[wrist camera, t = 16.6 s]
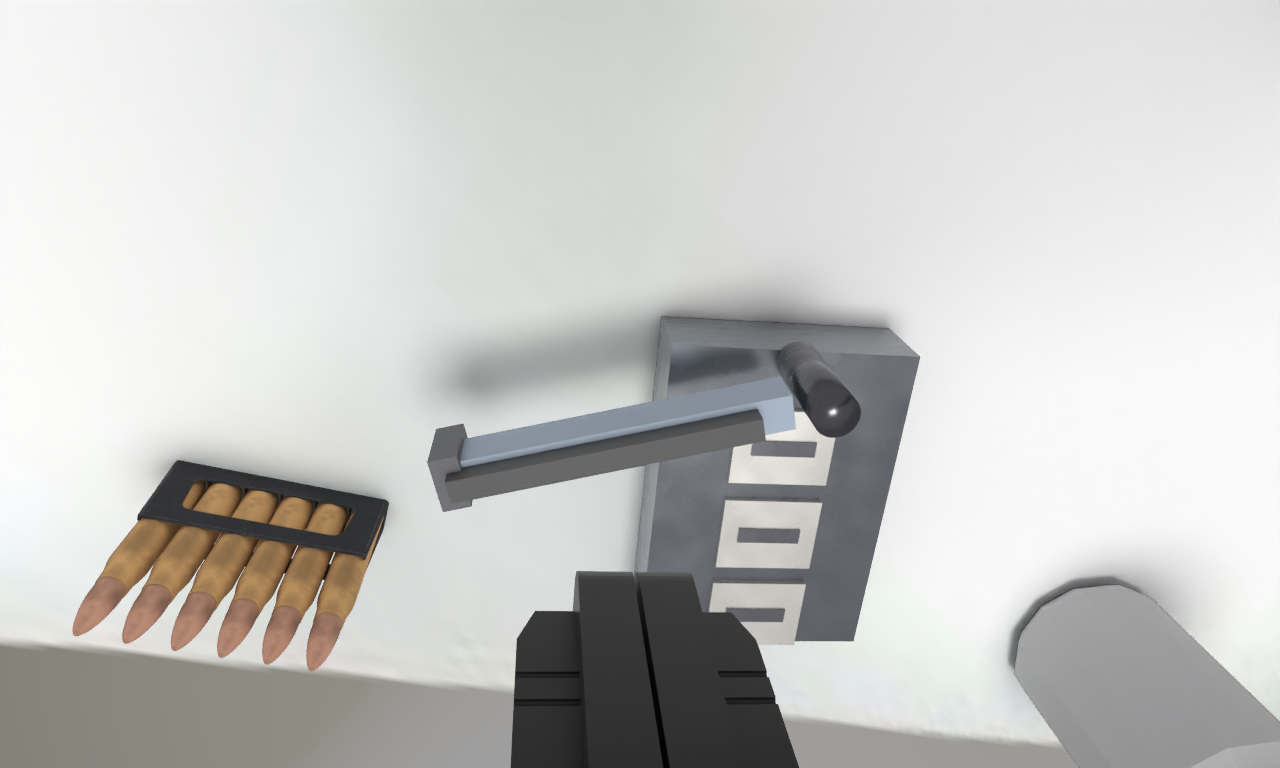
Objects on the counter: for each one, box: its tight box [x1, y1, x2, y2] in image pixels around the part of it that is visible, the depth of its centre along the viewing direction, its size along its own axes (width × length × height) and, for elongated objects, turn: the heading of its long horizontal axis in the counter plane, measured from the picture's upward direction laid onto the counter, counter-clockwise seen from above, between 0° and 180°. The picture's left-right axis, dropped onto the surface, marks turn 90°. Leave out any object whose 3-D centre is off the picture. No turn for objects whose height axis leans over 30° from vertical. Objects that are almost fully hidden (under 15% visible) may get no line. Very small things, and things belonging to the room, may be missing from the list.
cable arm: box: [427, 377, 796, 512], centre depth 36 cm, size 2×15×4 cm, turn 100°
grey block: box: [635, 317, 920, 645], centre depth 42 cm, size 12×18×10 cm
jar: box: [1014, 585, 1280, 768], centre depth 46 cm, size 10×10×18 cm
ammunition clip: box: [73, 460, 389, 671], centre depth 39 cm, size 11×2×12 cm, turn 73°
